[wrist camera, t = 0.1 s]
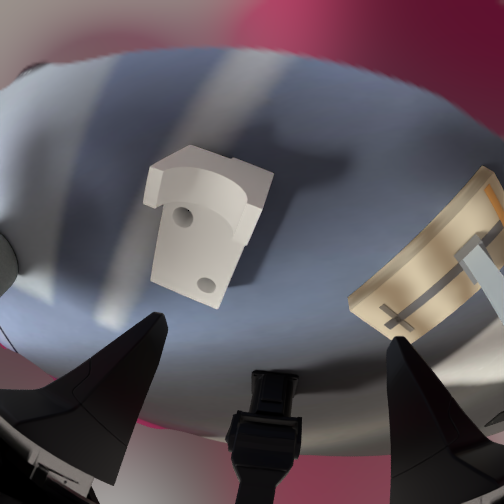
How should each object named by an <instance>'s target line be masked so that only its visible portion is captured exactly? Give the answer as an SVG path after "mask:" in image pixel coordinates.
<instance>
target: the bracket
mask: <svg viewBox="0 0 504 504" xmlns="http://www.w3.org/2000/svg"><path fill="white" fill-rule="evenodd" d="M273 176H274V173H272V172H269V171H267V170H265V169H262V168H260V167H257V166H255V165H252V164H249V163H247V162H244V161H242V160H239V159H236V158H234V157H233V158H232V159H229V158H227V157H224V156H221V155H219V154H216V153H213V152H210V151H207V150H205V149H202V148H199V147H196V146H193V145H188V146H186V147H184V148H182V149H180V150H178V151H177V152H175V153H173V154H171V155H169V156H167V157H165V158H164V159H162V160H160V161H158V162H156V163H155V164H153V165H151V166H150V168H149V173H148V178H147V183H146V188H145V194H144V199H143V204H144V205H147V206H149V207H152V208H154V209H156V208H157V207H159V206H161V205H163V204H164V207H163V211H162V216H161V221H160V226H159V232H158V237H157V242H156V248H155V254H154V260H153V266H152V273H151V280H150V281H152V282H154V283H156V284H158V285H161V286H163V287H165V288H167V289H170V290H172V291H174V292H177V293H179V294H181V295H184V296H186V297H188V298H191V299H193V300H196V301H198V302H201V303H203V304H205V305H208V306H210V307H213V308H215V309H218V308H219V306H220V303H221V301H222V299H223V296H224V294H225V291H226V289H227V287H228V284H229V282H230V280H231V277H232V275H233V272H234V270H235V268H236V265H237V263H238V261H239V258H240V256H241V253H242V251H243V249H244V246H245V245H246V246H247V244H248V242H249V240H250V237H251V235H252V233H253V230H254V228H255V226H256V223H257V221H258V219H259V217H260V214H261V212H262V210H263V207H264V204H265V200H266V197H267V194H268V191H269V188H270V185H271V182H272V179H273ZM186 208H187V209H188V210H189V211H190V212H191V213H190V212H189V211H188V210H187V209H186Z"/></svg>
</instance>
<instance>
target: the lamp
mask: <svg viewBox="0 0 504 504" xmlns="http://www.w3.org/2000/svg"><path fill="white" fill-rule="evenodd" d="M17 274H18V264H17V260H16V257H15V254H14V252H13V250H12V248H11V246H10V244H9V243H8V241H7V240H6V239H5V238H4V237H3V236H2V235H1V234H0V297H1V296H2V295H3V294H4V293H5V292H6V291H7V290H8V289H9V288H10V287H11V286H12V284H13V283H14V281H15V280H16V277H17Z"/></svg>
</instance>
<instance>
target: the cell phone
mask: <svg viewBox="0 0 504 504" xmlns="http://www.w3.org/2000/svg"><path fill="white" fill-rule="evenodd" d="M501 421H504V411H503V412H500V413H499V414H498V415H497V416H496V417H494V418H493V419H492V420H491V421H490V422H488V423H487V424H486V425H485V427H487V426H490V425H493V424H496V423H498V422H501Z"/></svg>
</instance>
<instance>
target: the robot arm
mask: <svg viewBox="0 0 504 504" xmlns="http://www.w3.org/2000/svg"><path fill="white" fill-rule="evenodd" d="M167 333H168V326H167V322H166V319H165V316H164V314H163V313H159V312H153V313H151V314H150V315H148V316H147V317H146V318H144V319H143V320H142V321H140V322H139V323H137V324H136V325H135V326H133V327H132V328H130V329H129V330H128V331H126V332H125V333H124V334H122V335H121V336H119V337H118V338H117V339H115V340H114V341H113V342H111V343H110V344H108V345H107V346H106V347H104V348H103V349H102V350H100V351H99V352H97V353H96V354H95V355H93V356H92V357H91V358H89V359H88V360H86V361H85V362H84V363H82V364H81V365H79V366H78V367H76V368H75V369H73V370H72V371H70V372H69V373H67V374H65V375H64V376H62V377H60V378H59V379H57V380H55V381H53V382H52V383H50V384H48V385H47V386H45V387H43V388H40V389H35V390H11V389H0V504H100V503H99V501H98V499H97V497H96V495H95V493H94V491H93V488H92V486H91V485H92V482H93V479H94V478H97V479H99V480H101V481H103V482H105V483H107V484H110V485H112V486H114V484H115V481H116V478H117V475H118V472H119V469H120V466H121V463H122V461H123V457H124V455H125V452H126V449H127V446H128V443H129V440H130V438H131V435H132V432H133V429H134V426H135V424H136V421H137V419H138V416H139V413H140V411H141V408H142V405H143V403H144V400H145V398H146V395H147V392H148V390H149V387H150V385H151V382H152V380H153V377H154V375H155V372H156V370H157V367H158V365H159V361H160V358H161V354H162V351H163V347H164V344H165V340H166V337H167ZM386 356H387V396H388V407H389V421H390V440H391V489H390V504H504V445H502V444H498V443H495V442H492V441H491V440H489V439H488V438H487V437H486V436H485V435H484V434H483V433H482V432H481V431H480V429H479V428H478V427H477V426H476V425H475V424H474V423H473V422H472V420H471V419H470V418H469V417H468V416H467V415H466V413H465V412H464V411H463V410H462V408H461V407H460V406H459V405H458V403H457V402H456V401H455V399H454V398H453V397H452V395H451V394H450V393H449V391H448V390H447V389H446V387H445V386H444V385H443V383H442V382H441V381H440V380H439V378H438V377H437V376H436V374H435V373H434V372H433V371H432V369H431V368H430V367H429V366H428V364H427V363H426V362H425V361H424V359H423V358H422V357H421V356H420V354H419V353H418V352H417V351H416V349H415V348H414V347H413V346H412V345H411V343H410V342H409V341H408V340H407V339H406V337H404V336H395V337H394V338H393V339H392V341H391V343H390V345H389V347H388V349H387V355H386ZM298 378H299V377H298V376H297V375H287V374H276V373H267V372H258V371H253V372H252V399H251V405H250V410H249V412H242V411H239V410H238V411H237V414H234V415H233V418H232V422H231V426H230V428H229V430H228V433H227V435H226V438H225V441H226V442H227V443H228V451H229V452H232V455H231V460H232V465H233V468H234V471H235V473H236V475H237V478H238V480H239V482H240V484H239V489H238V494H237V498H236V503H235V504H273V500H274V495H275V488H276V487H277V485H278V484H279V483H280V482H281V481H282V480H283V479H284V478H285V477H286V475H287V474H288V473H289V471H290V469H291V468H292V466H293V462H294V459H298V457H299V453H300V448H301V434H302V417H298V418H296V417H291V408H292V398H294V395H295V391H296V387H297V383H298Z"/></svg>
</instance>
